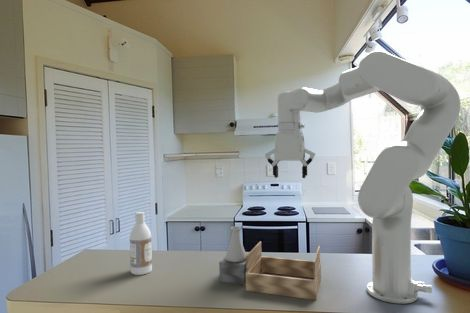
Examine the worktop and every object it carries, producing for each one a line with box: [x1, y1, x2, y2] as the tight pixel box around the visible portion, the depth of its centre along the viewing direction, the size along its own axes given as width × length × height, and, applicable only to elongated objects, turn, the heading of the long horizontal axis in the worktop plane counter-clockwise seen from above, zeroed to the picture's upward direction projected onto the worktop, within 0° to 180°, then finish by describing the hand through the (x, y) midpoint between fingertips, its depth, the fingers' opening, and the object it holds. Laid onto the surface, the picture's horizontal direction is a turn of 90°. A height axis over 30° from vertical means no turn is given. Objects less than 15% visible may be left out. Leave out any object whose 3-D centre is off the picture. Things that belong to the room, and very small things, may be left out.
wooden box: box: [245, 240, 322, 301], centre depth 96 cm, size 20×16×10 cm
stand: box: [218, 256, 246, 286], centre depth 102 cm, size 8×8×6 cm
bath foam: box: [129, 211, 153, 276], centre depth 109 cm, size 7×7×20 cm
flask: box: [225, 225, 247, 262], centre depth 101 cm, size 7×7×10 cm
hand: (290, 177), depth 112 cm, fingers open, 9 cm apart
